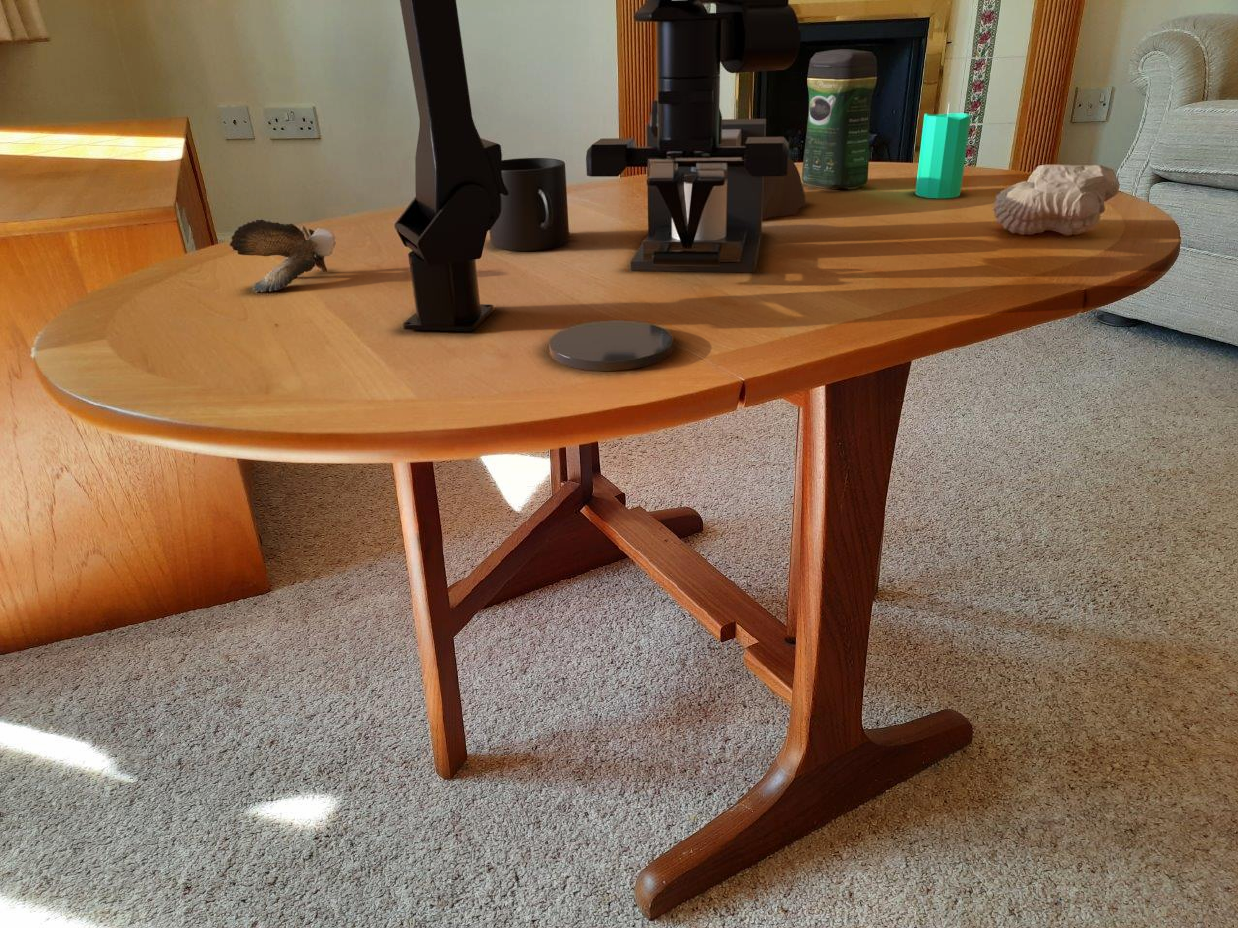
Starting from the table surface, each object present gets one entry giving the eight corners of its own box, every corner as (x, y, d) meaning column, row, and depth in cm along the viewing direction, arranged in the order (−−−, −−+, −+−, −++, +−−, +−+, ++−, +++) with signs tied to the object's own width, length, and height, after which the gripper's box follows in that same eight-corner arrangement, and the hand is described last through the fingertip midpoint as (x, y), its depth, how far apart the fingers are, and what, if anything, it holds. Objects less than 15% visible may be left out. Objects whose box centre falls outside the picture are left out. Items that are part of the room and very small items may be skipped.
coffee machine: (755, 272, 91) (760, 139, 85) (630, 270, 93) (627, 140, 88) (761, 234, 106) (766, 118, 101) (654, 233, 109) (652, 120, 103)
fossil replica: (976, 229, 106) (1024, 255, 98) (985, 158, 101) (1036, 179, 93) (1068, 214, 107) (1124, 239, 99) (1081, 143, 103) (1140, 162, 95)
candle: (915, 197, 123) (925, 105, 117) (915, 190, 128) (925, 100, 123) (960, 198, 121) (974, 104, 116) (959, 191, 126) (972, 100, 121)
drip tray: (736, 275, 85) (737, 253, 84) (634, 274, 87) (634, 252, 86) (746, 234, 101) (747, 214, 100) (659, 233, 103) (659, 214, 102)
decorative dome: (820, 196, 126) (825, 121, 121) (782, 226, 110) (786, 141, 105) (692, 190, 133) (692, 119, 129) (639, 217, 117) (637, 137, 113)
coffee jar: (876, 187, 131) (889, 48, 123) (835, 193, 128) (846, 51, 119) (832, 178, 139) (841, 47, 130) (792, 184, 135) (799, 50, 127)
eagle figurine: (291, 255, 99) (219, 258, 92) (313, 203, 96) (239, 201, 88) (332, 300, 98) (261, 307, 90) (355, 248, 94) (283, 251, 86)
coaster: (664, 373, 67) (664, 363, 66) (535, 369, 69) (535, 359, 68) (679, 330, 76) (679, 321, 75) (565, 327, 77) (565, 318, 77)
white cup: (724, 242, 94) (725, 183, 92) (668, 241, 95) (667, 183, 93) (728, 229, 100) (729, 174, 97) (675, 229, 101) (674, 174, 98)
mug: (514, 261, 99) (506, 176, 95) (480, 240, 108) (472, 162, 104) (591, 249, 102) (587, 168, 98) (551, 230, 112) (546, 155, 108)
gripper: (793, 68, 86) (784, 231, 93) (604, 73, 89) (610, 229, 96) (792, 77, 76) (782, 257, 83) (581, 81, 80) (589, 254, 87)
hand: (687, 248), depth 88 cm, fingers closed
